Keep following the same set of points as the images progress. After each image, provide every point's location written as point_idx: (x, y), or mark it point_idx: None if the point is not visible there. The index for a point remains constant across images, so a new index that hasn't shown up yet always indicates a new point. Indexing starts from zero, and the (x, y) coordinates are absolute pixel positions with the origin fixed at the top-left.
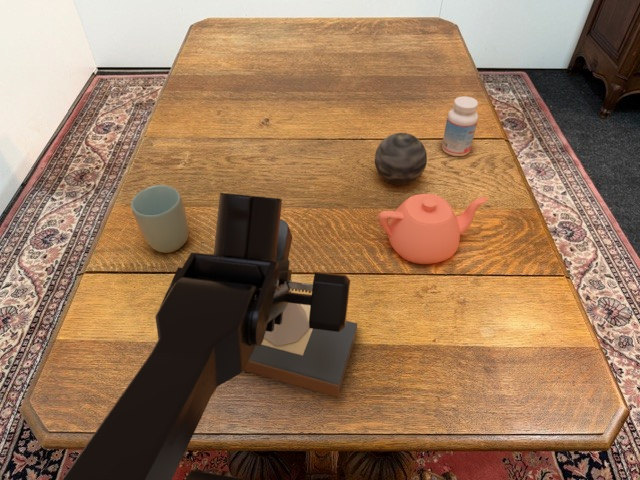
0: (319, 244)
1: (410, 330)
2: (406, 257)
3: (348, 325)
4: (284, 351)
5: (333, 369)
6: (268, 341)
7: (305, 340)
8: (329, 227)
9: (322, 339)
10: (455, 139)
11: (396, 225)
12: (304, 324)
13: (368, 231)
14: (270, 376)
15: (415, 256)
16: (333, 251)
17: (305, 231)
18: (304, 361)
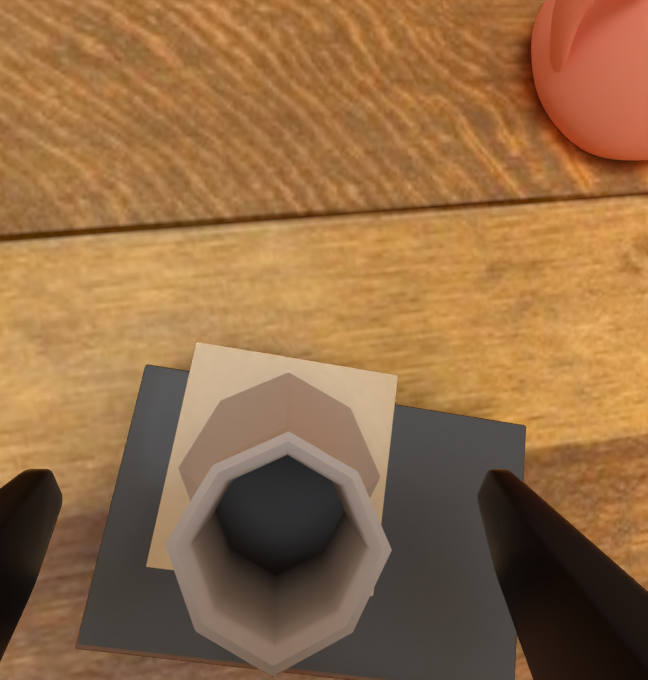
0: (326, 105)
1: (629, 387)
2: (603, 145)
3: (500, 439)
4: None
5: (485, 631)
6: None
7: None
8: (346, 41)
9: (426, 510)
10: None
11: (607, 23)
12: (369, 495)
13: (461, 53)
14: None
15: (640, 142)
16: (373, 129)
17: (274, 58)
18: (382, 618)
